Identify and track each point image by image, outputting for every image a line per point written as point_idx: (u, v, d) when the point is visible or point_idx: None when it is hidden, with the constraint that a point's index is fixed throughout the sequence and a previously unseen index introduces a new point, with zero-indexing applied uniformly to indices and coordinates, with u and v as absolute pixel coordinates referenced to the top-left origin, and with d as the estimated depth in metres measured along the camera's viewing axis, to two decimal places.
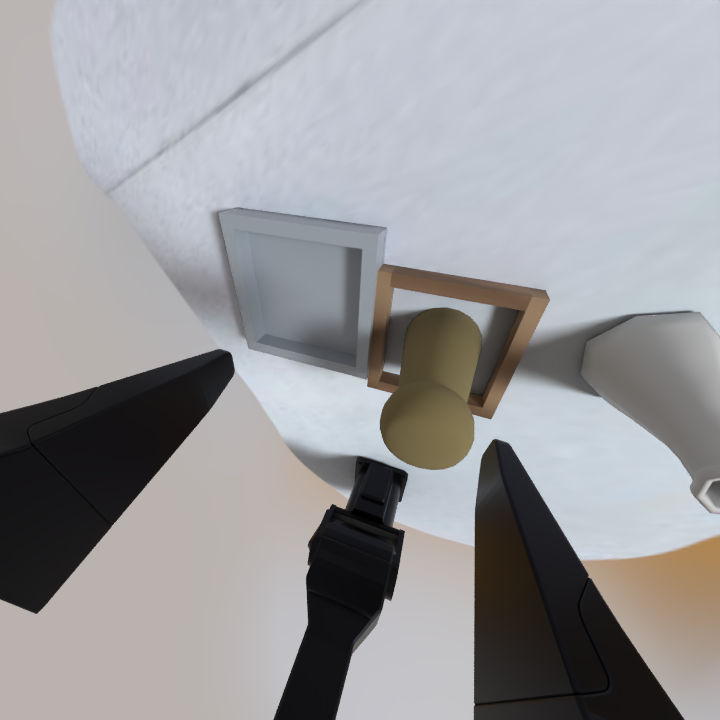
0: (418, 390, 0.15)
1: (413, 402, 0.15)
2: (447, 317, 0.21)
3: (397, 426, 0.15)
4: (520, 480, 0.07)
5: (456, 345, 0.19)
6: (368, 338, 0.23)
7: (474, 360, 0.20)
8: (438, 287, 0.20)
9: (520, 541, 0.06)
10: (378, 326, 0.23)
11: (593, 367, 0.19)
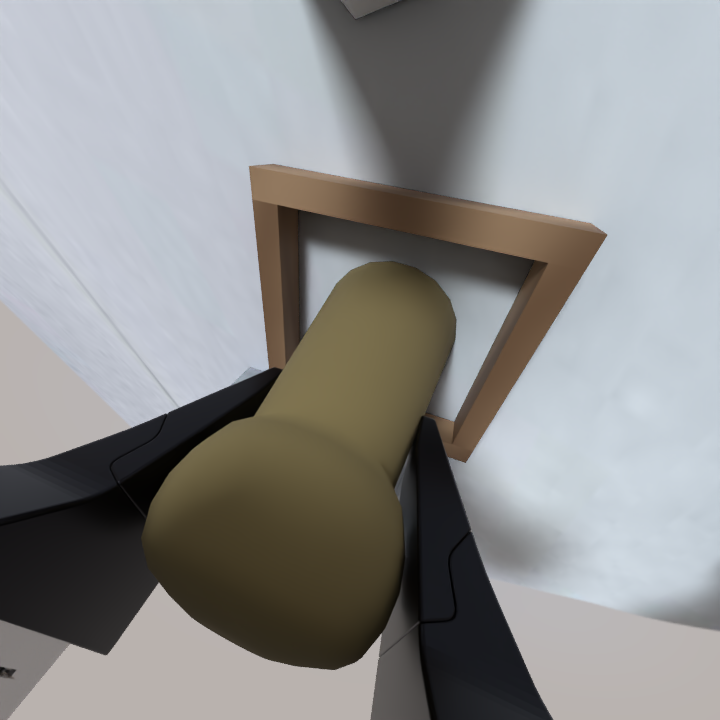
0: None
1: None
2: None
3: None
4: (433, 450, 0.07)
5: None
6: None
7: (339, 308, 0.09)
8: (273, 335, 0.14)
9: (416, 501, 0.06)
10: None
11: None
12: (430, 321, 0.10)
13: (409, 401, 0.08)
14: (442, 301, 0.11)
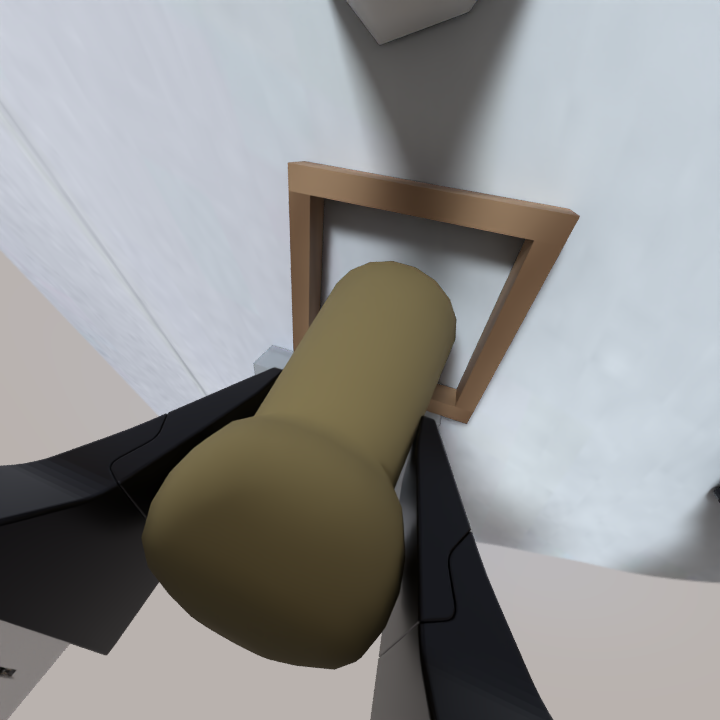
0: None
1: None
2: None
3: None
4: (433, 450, 0.07)
5: None
6: None
7: (339, 308, 0.09)
8: (299, 310, 0.16)
9: (415, 501, 0.06)
10: None
11: (415, 1, 0.08)
12: (430, 321, 0.10)
13: (409, 400, 0.08)
14: (442, 301, 0.11)
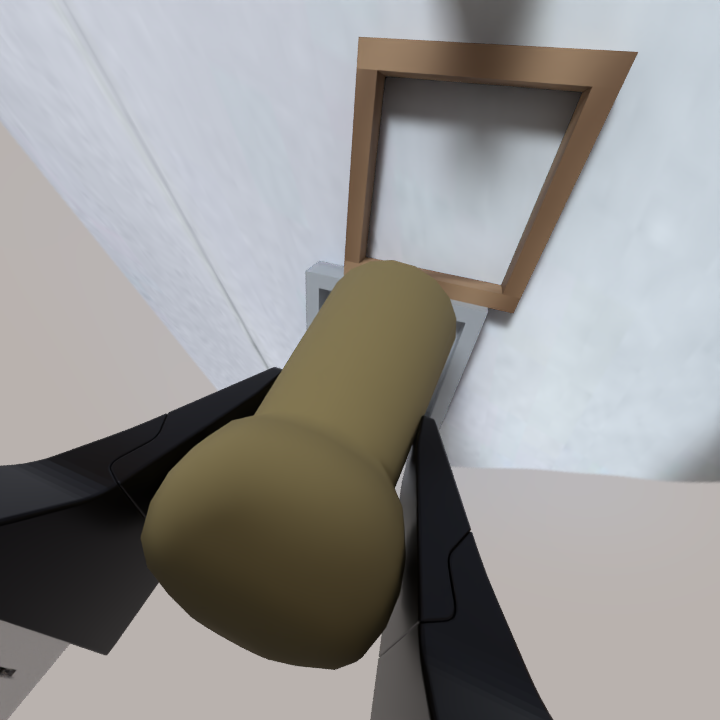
0: None
1: None
2: None
3: None
4: (433, 450, 0.07)
5: None
6: None
7: (339, 307, 0.09)
8: (355, 205, 0.17)
9: (415, 501, 0.06)
10: None
11: None
12: (430, 320, 0.10)
13: (410, 399, 0.08)
14: (442, 300, 0.11)
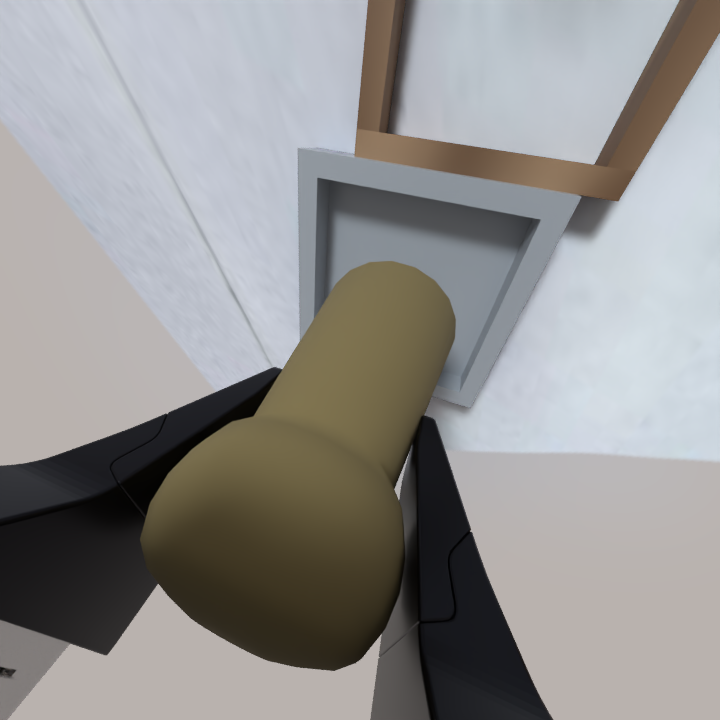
0: None
1: None
2: None
3: None
4: (433, 450, 0.07)
5: None
6: (469, 179, 0.12)
7: (339, 308, 0.09)
8: (378, 14, 0.10)
9: (415, 501, 0.06)
10: (454, 160, 0.12)
11: None
12: (429, 321, 0.10)
13: (409, 400, 0.08)
14: (442, 301, 0.11)
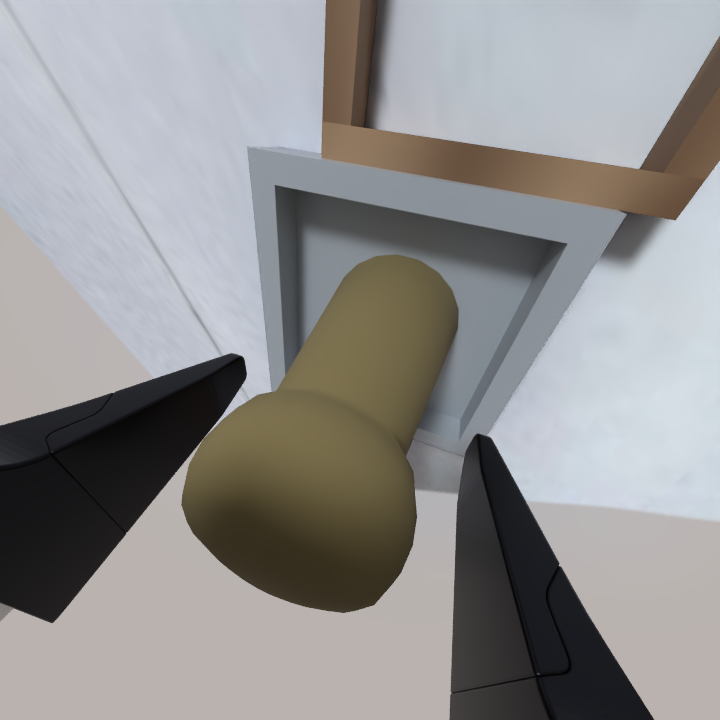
0: None
1: None
2: None
3: None
4: (499, 473, 0.07)
5: None
6: (470, 189, 0.09)
7: (349, 297, 0.10)
8: None
9: (494, 531, 0.06)
10: (450, 164, 0.09)
11: None
12: (434, 309, 0.11)
13: (417, 379, 0.08)
14: (445, 291, 0.12)
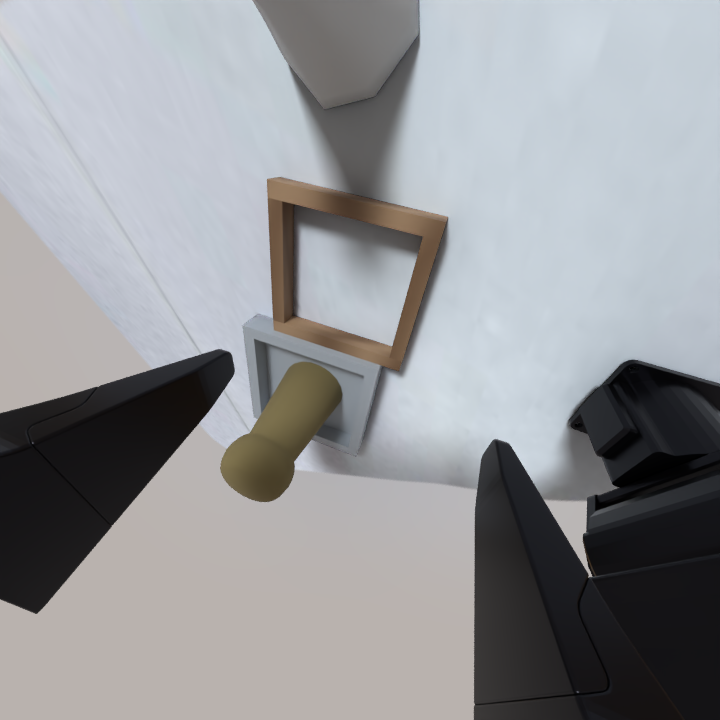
0: None
1: None
2: None
3: (235, 490, 0.21)
4: (520, 480, 0.07)
5: None
6: (327, 354, 0.23)
7: (284, 389, 0.24)
8: (276, 284, 0.22)
9: (520, 541, 0.06)
10: (322, 341, 0.23)
11: (340, 92, 0.14)
12: (321, 393, 0.25)
13: (303, 427, 0.23)
14: (331, 381, 0.26)
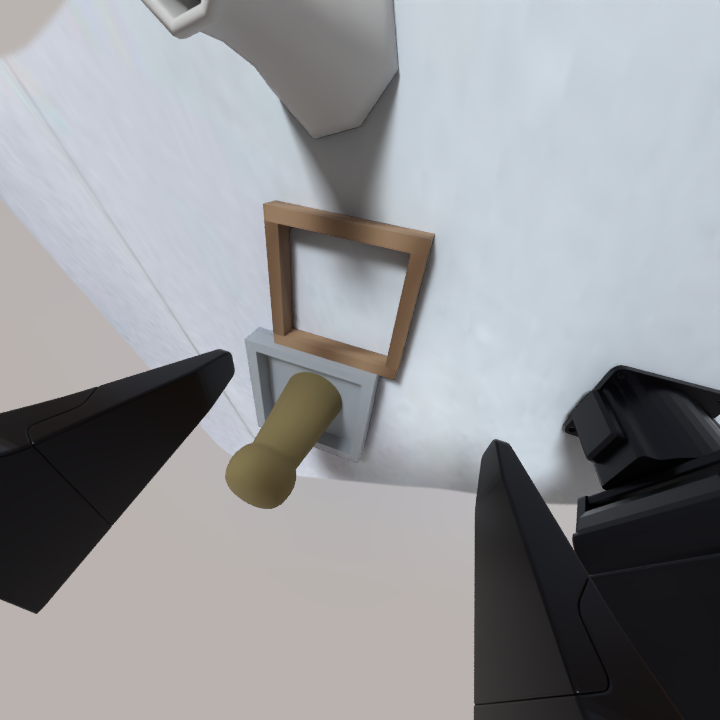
0: None
1: None
2: None
3: (240, 498, 0.22)
4: (520, 480, 0.07)
5: None
6: (326, 365, 0.24)
7: (285, 399, 0.25)
8: (275, 299, 0.23)
9: (520, 541, 0.06)
10: (320, 353, 0.24)
11: (327, 124, 0.15)
12: (321, 402, 0.26)
13: (304, 435, 0.24)
14: (331, 390, 0.27)
